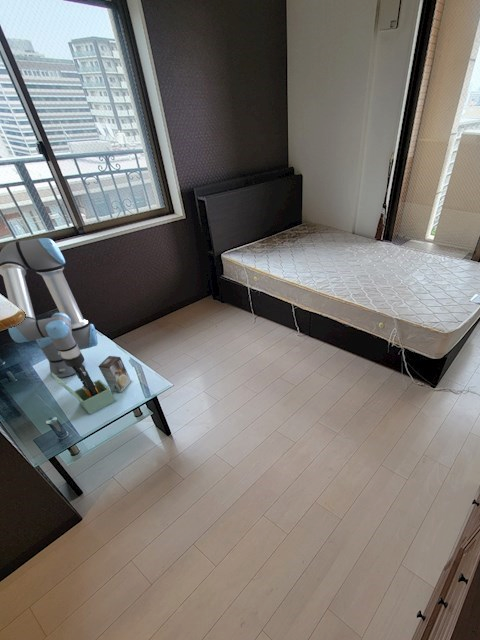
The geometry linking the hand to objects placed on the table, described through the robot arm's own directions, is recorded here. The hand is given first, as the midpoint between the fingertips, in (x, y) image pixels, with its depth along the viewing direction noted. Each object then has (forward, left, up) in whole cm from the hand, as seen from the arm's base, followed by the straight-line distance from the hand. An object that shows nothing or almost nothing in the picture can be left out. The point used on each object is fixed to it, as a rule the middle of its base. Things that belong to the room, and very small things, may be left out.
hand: (93, 394), depth 165 cm
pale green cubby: (0, 0, -5) cm, 5 cm away
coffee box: (-3, +14, -6) cm, 15 cm away
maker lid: (0, -8, +10) cm, 12 cm away
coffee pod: (0, 0, 0) cm, 0 cm away
